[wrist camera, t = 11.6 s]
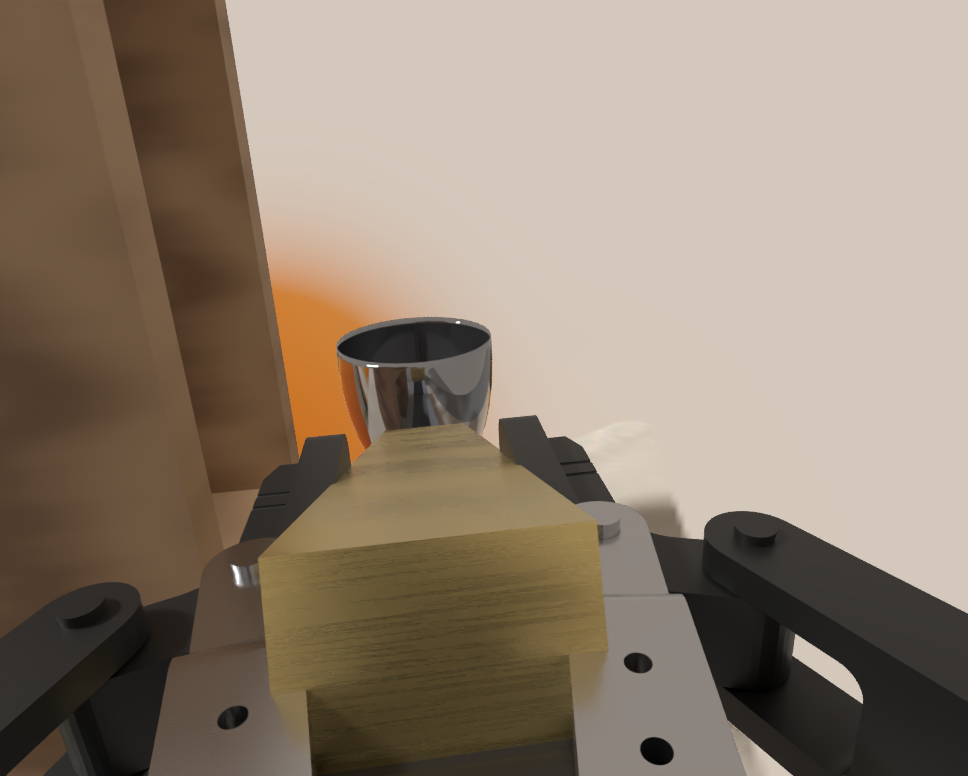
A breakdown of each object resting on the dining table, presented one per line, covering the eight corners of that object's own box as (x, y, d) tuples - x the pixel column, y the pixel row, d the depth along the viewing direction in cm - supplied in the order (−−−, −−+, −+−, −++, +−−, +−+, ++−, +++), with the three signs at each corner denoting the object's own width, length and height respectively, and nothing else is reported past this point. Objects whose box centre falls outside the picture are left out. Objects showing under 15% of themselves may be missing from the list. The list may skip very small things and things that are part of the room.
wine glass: (526, 566, 41) (521, 328, 35) (443, 645, 35) (421, 374, 29) (427, 526, 45) (409, 310, 40) (339, 590, 39) (302, 347, 34)
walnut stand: (32, 1056, 20) (-726, -427, 8) (163, 723, 31) (-81, -109, 19) (307, 1010, 21) (-28, -408, 9) (338, 701, 32) (206, -112, 20)
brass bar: (288, 903, 6) (257, 557, 6) (392, 508, 26) (385, 430, 26) (626, 849, 6) (596, 520, 6) (470, 500, 26) (463, 423, 26)
